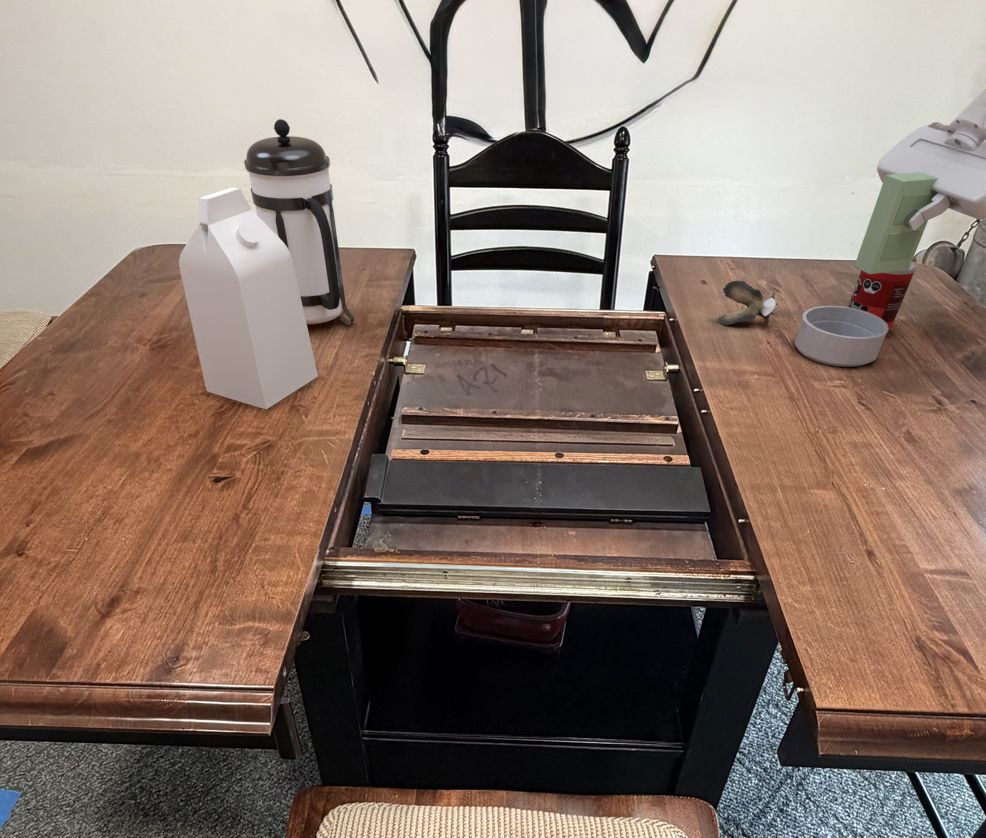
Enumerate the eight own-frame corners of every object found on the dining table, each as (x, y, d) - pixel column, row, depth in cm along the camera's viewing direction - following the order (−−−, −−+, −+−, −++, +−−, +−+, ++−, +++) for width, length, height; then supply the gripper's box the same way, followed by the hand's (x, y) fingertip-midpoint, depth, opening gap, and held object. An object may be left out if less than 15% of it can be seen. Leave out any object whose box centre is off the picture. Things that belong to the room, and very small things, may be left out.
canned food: (839, 317, 129) (861, 253, 122) (885, 321, 128) (911, 256, 121) (845, 333, 124) (869, 268, 116) (894, 338, 123) (921, 272, 115)
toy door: (853, 266, 106) (885, 174, 97) (891, 261, 107) (926, 171, 99) (870, 274, 103) (904, 181, 95) (909, 270, 105) (946, 178, 96)
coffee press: (251, 334, 121) (204, 127, 100) (294, 300, 132) (260, 107, 112) (344, 347, 118) (315, 135, 97) (381, 311, 129) (362, 114, 108)
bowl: (872, 340, 122) (883, 311, 119) (880, 373, 113) (892, 342, 110) (792, 330, 125) (801, 301, 121) (794, 362, 116) (803, 332, 112)
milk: (260, 360, 114) (219, 177, 96) (318, 376, 110) (286, 188, 92) (206, 391, 106) (150, 198, 88) (266, 409, 102) (220, 211, 85)
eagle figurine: (764, 305, 130) (717, 294, 129) (784, 280, 123) (735, 268, 122) (760, 341, 128) (713, 330, 128) (780, 318, 121) (730, 306, 121)
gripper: (922, 102, 101) (840, 184, 106) (1042, 132, 87) (943, 225, 92) (933, 137, 105) (854, 215, 110) (1050, 171, 91) (954, 258, 96)
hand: (895, 220), depth 100 cm, fingers closed on toy door, 4 cm apart
